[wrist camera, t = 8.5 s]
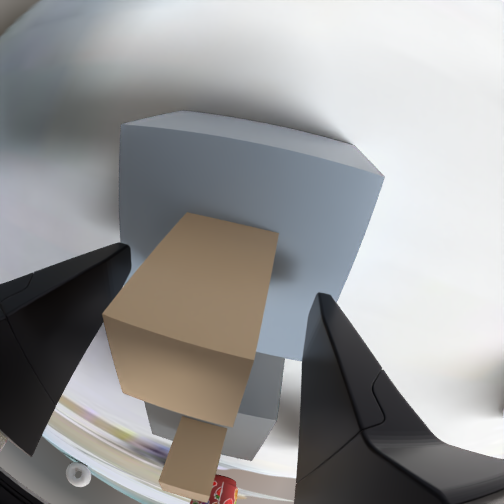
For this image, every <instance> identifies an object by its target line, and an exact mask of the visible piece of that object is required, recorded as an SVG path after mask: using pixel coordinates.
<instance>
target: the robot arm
mask: <svg viewBox="0 0 504 504" xmlns="http://www.w3.org/2000/svg"><path fill="white" fill-rule="evenodd" d="M131 267H132V263H131V248H130V246H129V245H127V244H124V243H115V244H112V245H109V246H106V247H103V248H100V249H97V250H94V251H92V252H89V253H86V254H83V255H80V256H77V257H74V258H71V259H69V260H66V261H63V262H60V263H58V264H55V265H52V266H49V267H47V268H44V269H41V270H39V271H36V272H34V273H30V274H28V275H25V276H23V277H20V278H17V279H14V280H12V281H9V282H6V283H3V284H0V452H1V450H2V449H3V447H4V445H5V443H6V441H7V440H9V441H10V442H12V443H13V444H14V445H15V446H17V447H18V448H20V449H21V450H22V451H23V452H25V453H26V454H28V455H29V456H30V457H32V455H33V453H34V451H35V449H36V447H37V445H38V442H39V440H40V438H41V436H42V434H43V432H44V430H45V427H46V425H47V423H48V421H49V419H50V417H51V415H52V413H53V411H54V409H55V407H56V406H55V405H57V403H58V401H59V399H60V397H61V395H62V393H63V391H64V390H65V388H66V386H67V384H68V382H69V380H70V378H71V377H72V375H73V373H74V371H75V369H76V368H77V366H78V364H79V362H80V361H81V359H82V357H83V355H84V354H85V352H86V350H87V348H88V347H89V345H90V343H91V342H92V340H93V338H94V337H95V335H96V333H97V332H98V330H99V328H100V327H101V325H102V323H103V322H104V321H103V316H102V314H103V312H104V311H105V310H106V308H107V307H108V306H109V304H110V303H111V302H112V301H113V299H114V298H115V297H116V295H117V294H118V293H119V292H120V290H121V289H122V288H123V286H124V284H125V282H126V280H127V278H128V276H129V274H130V272H131ZM296 483H297V484H296V488H295V499H294V504H504V459H498V458H494V457H490V456H486V455H482V454H479V453H475V452H472V451H468V450H465V449H461V448H458V447H455V446H452V445H449V444H446V443H444V442H442V441H441V440H440V439H438V438H437V437H436V436H435V435H434V434H433V433H432V432H431V431H430V430H429V428H428V427H427V426H426V425H425V424H424V422H423V421H422V420H421V419H420V417H419V416H418V415H417V414H416V412H415V411H414V410H413V409H412V408H411V406H410V405H409V404H408V403H407V401H406V400H405V399H404V398H403V396H402V395H401V394H400V392H399V391H398V390H397V388H396V387H395V386H394V384H393V383H392V381H391V380H390V379H389V377H388V376H387V374H386V373H385V371H384V370H382V367H381V365H380V364H379V363H378V361H377V360H376V358H375V357H374V355H373V354H372V352H371V351H370V350H369V348H368V347H367V345H366V344H365V342H364V341H363V340H362V338H361V337H360V335H359V334H358V332H357V331H356V330H355V328H354V327H353V325H352V324H351V323H350V321H349V320H348V318H347V317H346V316H345V314H344V313H343V311H342V310H341V309H340V307H339V306H338V304H337V303H336V302H335V300H334V299H333V298H332V296H331V295H330V294H326V293H321V292H318V293H317V294H316V296H315V299H314V301H313V304H312V306H311V309H310V312H309V315H308V320H307V328H306V335H305V342H304V349H303V356H302V380H301V409H300V430H299V448H298V463H297V477H296ZM0 504H50V503H48V502H47V501H45V500H44V499H42V498H41V497H39V496H38V495H36V494H35V493H33V492H32V491H31V490H29V489H28V488H27V487H25V486H24V485H22V484H21V483H20V482H18V481H17V480H16V479H14V478H13V477H12V476H11V475H9V474H8V473H7V472H6V471H4V470H3V469H2V468H1V467H0Z"/></svg>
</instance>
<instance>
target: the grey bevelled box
mask: <svg viewBox="0 0 504 504" xmlns="http://www.w3.org/2000/svg"><path fill="white" fill-rule="evenodd" d="M284 360H285V358H283V357H278V356H273V355H269V354H264V353H260V352H256V354H255V359H254V362H253V366H252V369H251V372H250V375H249V378H248V382H247V385H246V388H245V391H244V394H243V397H242V401H241V404H240V407H239V410H238V413H237V416H236V419H235V422H234V425H233V428H232V427H228V426H224V425H220V424H216V423H212V422H208V421H205V420H201V419H197V418H194V417H190V416H187V415H184V414H181V413H177V412H174V411H171V410H168V409H165V408H162V407H159V406H156V405H154V404H151V403H148V402H145V401H144V402H145V407H146V411H147V415H148V419H149V423H150V427H151V430H152V434H154V435H157V436H160V437H163V438H166V439H169V440H172V441H173V442H172V445H171V448H170V451H169V454H168V456H167V459H166V462H165V465H164V468H163V470H162V473H161V476H160V479H159V483H160V485H161V487H162V490H164V491H167V492H170V493H173V494H177V495H180V496H183V497H187V498H190V499H194V500H198V501H202V502H206V503H207V502H208V500H209V497H210V494H211V490H212V486H213V482H214V478H215V475H216V471H217V467H218V463H219V459H220V455H221V454H222V455H226V456H231V457H235V458H240V459H245V460H250V461H252V460H253V458H254V457H255V455H256V454H257V452H258V451H259V449H260V447H261V446H262V444H263V443H264V441H265V439H266V438H267V436H268V435H269V433H270V431H271V430H272V428H273V426H274V425H275V423H276V421H277V416H278V409H279V401H280V394H281V386H282V377H283V369H284Z"/></svg>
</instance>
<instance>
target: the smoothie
mask: <svg viewBox="0 0 504 504" xmlns="http://www.w3.org/2000/svg"><path fill="white" fill-rule="evenodd" d="M237 493H238V488H237V487H236V482H235V481H234V480H233V479H231V478H228V477H225V476H221V475H215V478H214V482H213V486H212V490H211V494H210V497H209V500H208V502H207V503H206V502H202V501H198V500H194V499H192V500H191V502H190V504H236V500H237Z"/></svg>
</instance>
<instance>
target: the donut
mask: <svg viewBox="0 0 504 504" xmlns="http://www.w3.org/2000/svg"><path fill="white" fill-rule="evenodd" d="M76 471H81V473H82V476H81V477H80V478H76V477H75V473H76ZM66 476H67V479H68V480H69V482H70V483H71V484H73V485H74V486H77V487H83V486H86V485H87V484H88V483H89V482H90V480H91V472H90V470H89V469H88V467H87V466H86V465H84V464H83V463H80V462H74V463H71V464H70V465H69V466H68V467H67V470H66Z"/></svg>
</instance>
